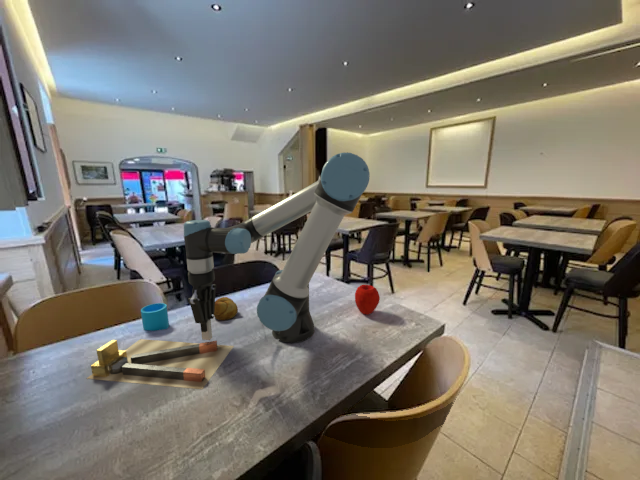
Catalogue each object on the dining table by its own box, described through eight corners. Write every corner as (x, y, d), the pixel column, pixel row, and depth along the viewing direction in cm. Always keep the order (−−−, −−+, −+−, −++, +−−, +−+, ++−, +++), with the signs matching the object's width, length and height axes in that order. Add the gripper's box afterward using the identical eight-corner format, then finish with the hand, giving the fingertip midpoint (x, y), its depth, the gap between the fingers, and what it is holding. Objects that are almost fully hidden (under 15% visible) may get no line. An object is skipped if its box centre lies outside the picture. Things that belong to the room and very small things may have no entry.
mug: (166, 331, 99) (164, 310, 98) (140, 335, 97) (137, 314, 95) (172, 316, 110) (170, 297, 109) (149, 320, 108) (146, 300, 106)
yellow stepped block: (127, 360, 80) (124, 338, 79) (106, 377, 74) (101, 353, 72) (115, 359, 81) (111, 337, 80) (92, 375, 74) (88, 352, 73)
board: (234, 350, 88) (234, 345, 88) (202, 394, 70) (202, 389, 69) (140, 343, 92) (140, 339, 92) (87, 383, 74) (86, 378, 73)
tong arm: (217, 347, 87) (216, 340, 86) (217, 350, 85) (216, 343, 85) (133, 362, 80) (132, 354, 79) (131, 365, 78) (130, 358, 78)
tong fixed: (210, 371, 76) (209, 363, 76) (201, 382, 72) (200, 374, 71) (118, 363, 79) (117, 355, 79) (105, 373, 75) (103, 365, 75)
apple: (382, 311, 115) (383, 283, 113) (373, 320, 107) (374, 291, 104) (360, 305, 120) (361, 279, 118) (350, 314, 112) (351, 286, 110)
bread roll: (211, 310, 116) (210, 292, 114) (235, 306, 120) (234, 289, 118) (213, 324, 104) (211, 305, 103) (239, 319, 108) (238, 300, 106)
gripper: (201, 263, 92) (207, 327, 97) (176, 276, 79) (184, 349, 84) (222, 264, 91) (227, 329, 96) (200, 277, 78) (207, 351, 83)
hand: (207, 338), depth 90 cm, fingers closed
